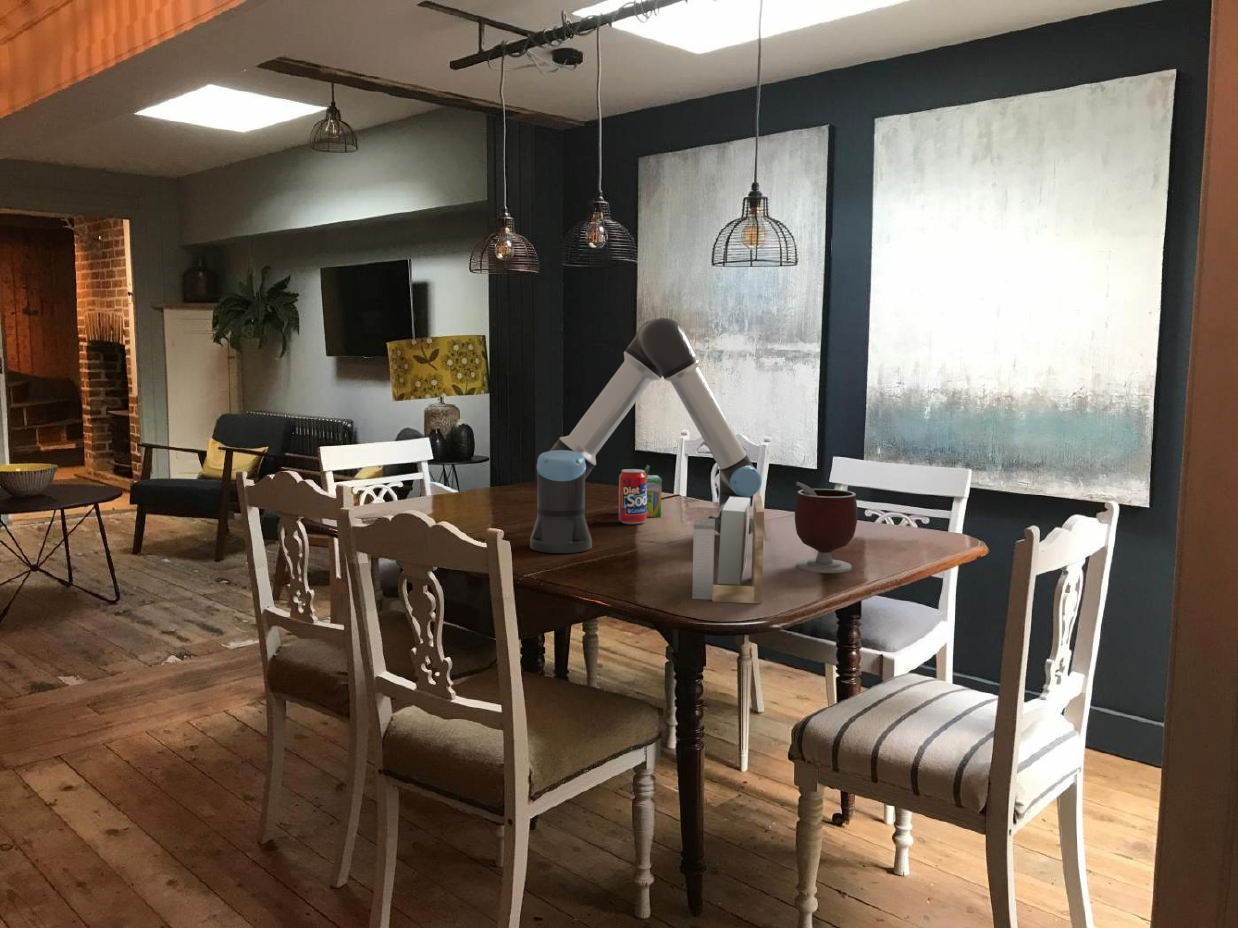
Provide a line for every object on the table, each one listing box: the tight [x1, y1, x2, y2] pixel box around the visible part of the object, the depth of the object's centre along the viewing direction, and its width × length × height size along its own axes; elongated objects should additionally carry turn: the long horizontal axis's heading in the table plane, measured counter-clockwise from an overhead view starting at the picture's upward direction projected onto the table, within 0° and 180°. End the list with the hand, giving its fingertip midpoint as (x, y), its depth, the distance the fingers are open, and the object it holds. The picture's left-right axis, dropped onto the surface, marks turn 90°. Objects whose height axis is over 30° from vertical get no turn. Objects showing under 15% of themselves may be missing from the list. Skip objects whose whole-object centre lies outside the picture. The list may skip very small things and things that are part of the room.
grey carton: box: [691, 517, 716, 601], centre depth 200 cm, size 4×8×15 cm, turn 174°
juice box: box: [644, 464, 663, 518], centre depth 294 cm, size 9×9×15 cm
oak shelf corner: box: [712, 494, 765, 604], centre depth 204 cm, size 10×22×18 cm, turn 174°
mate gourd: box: [794, 481, 858, 574], centre depth 226 cm, size 16×14×20 cm
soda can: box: [618, 468, 648, 526], centre depth 281 cm, size 8×8×15 cm
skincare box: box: [716, 497, 751, 586], centre depth 218 cm, size 21×5×16 cm, turn 169°
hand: (734, 534), depth 228 cm, fingers closed
